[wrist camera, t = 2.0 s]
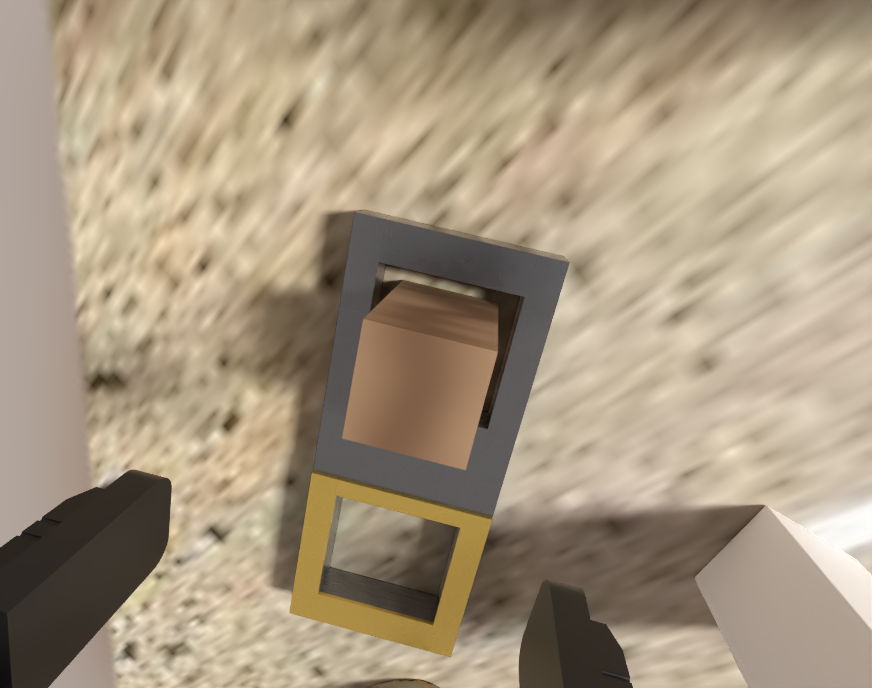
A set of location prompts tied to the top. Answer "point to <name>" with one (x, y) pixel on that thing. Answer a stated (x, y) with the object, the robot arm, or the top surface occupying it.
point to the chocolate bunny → (404, 684)
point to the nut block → (423, 373)
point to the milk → (791, 607)
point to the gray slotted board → (405, 475)
